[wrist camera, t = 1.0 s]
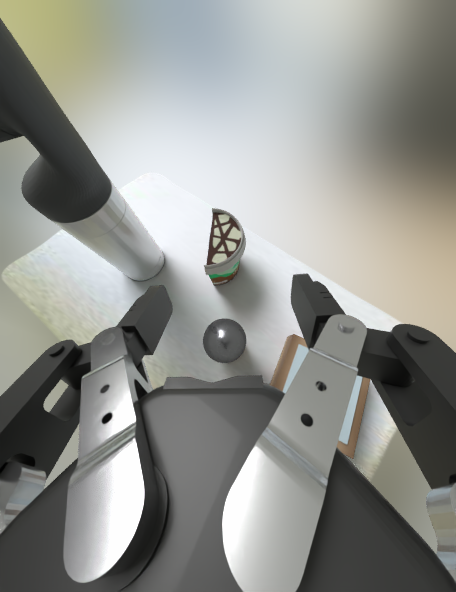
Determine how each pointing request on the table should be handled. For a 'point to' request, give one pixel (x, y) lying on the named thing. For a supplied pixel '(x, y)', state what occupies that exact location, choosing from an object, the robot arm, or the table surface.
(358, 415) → the walnut riser
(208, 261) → the food container
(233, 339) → the terracotta canister
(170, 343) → the table surface
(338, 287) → the table surface
